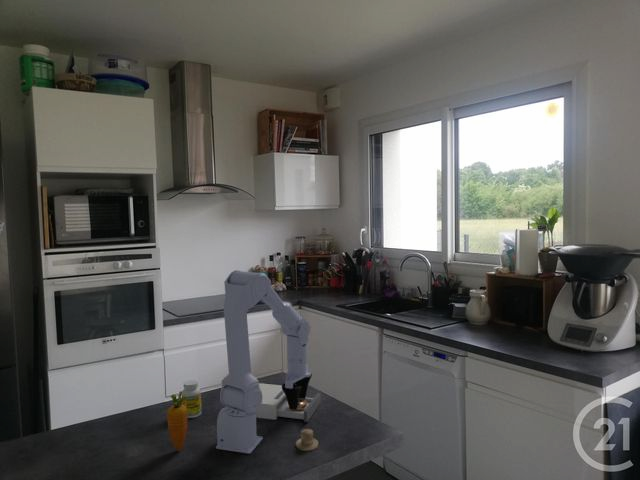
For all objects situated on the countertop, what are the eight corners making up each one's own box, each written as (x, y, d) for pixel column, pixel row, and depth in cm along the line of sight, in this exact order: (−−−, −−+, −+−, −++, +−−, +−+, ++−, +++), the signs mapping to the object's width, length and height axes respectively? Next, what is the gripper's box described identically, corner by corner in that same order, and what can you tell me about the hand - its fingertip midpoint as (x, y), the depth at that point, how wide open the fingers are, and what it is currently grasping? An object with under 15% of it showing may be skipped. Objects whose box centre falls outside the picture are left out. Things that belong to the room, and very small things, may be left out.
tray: (263, 416, 135) (263, 406, 135) (280, 398, 148) (280, 389, 148) (307, 422, 131) (307, 411, 131) (320, 402, 144) (320, 393, 144)
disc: (287, 410, 137) (287, 404, 137) (293, 403, 142) (292, 397, 142) (303, 412, 136) (303, 406, 136) (308, 405, 141) (308, 399, 141)
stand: (292, 449, 118) (292, 435, 117) (300, 438, 123) (300, 425, 123) (314, 452, 116) (314, 438, 116) (320, 441, 121) (320, 428, 121)
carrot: (181, 443, 121) (179, 386, 120) (193, 449, 118) (191, 391, 117) (164, 451, 117) (161, 393, 116) (175, 458, 114) (173, 398, 113)
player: (230, 414, 138) (230, 399, 137) (251, 395, 151) (251, 382, 151) (275, 419, 134) (275, 404, 133) (292, 400, 147) (292, 386, 147)
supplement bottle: (199, 408, 142) (198, 377, 141) (203, 415, 137) (202, 383, 136) (180, 412, 139) (179, 381, 138) (184, 420, 134) (183, 387, 134)
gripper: (301, 367, 130) (302, 415, 131) (317, 351, 144) (317, 394, 145) (277, 365, 132) (278, 412, 133) (295, 349, 146) (296, 392, 147)
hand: (297, 403), depth 139 cm, fingers open, 7 cm apart
